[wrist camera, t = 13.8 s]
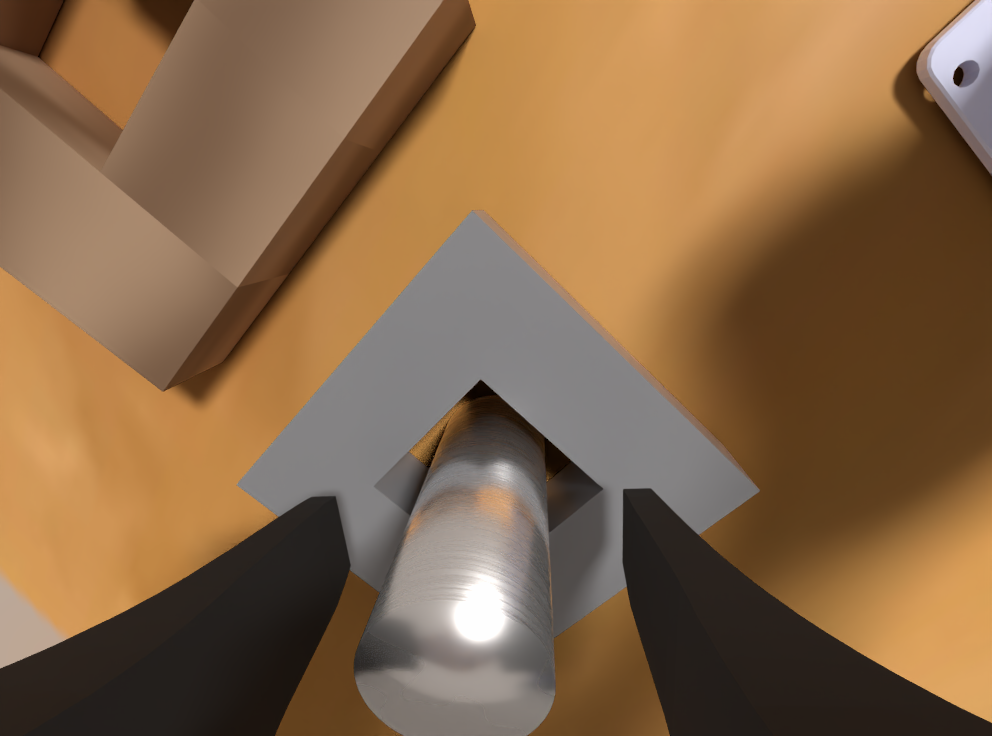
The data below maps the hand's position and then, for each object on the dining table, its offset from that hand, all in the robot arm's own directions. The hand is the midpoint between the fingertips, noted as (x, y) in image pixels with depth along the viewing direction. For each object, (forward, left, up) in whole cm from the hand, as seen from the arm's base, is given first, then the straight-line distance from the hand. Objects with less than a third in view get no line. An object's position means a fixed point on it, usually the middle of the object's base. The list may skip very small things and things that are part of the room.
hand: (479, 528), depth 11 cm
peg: (0, 0, -4) cm, 4 cm away
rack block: (0, 0, -4) cm, 4 cm away
